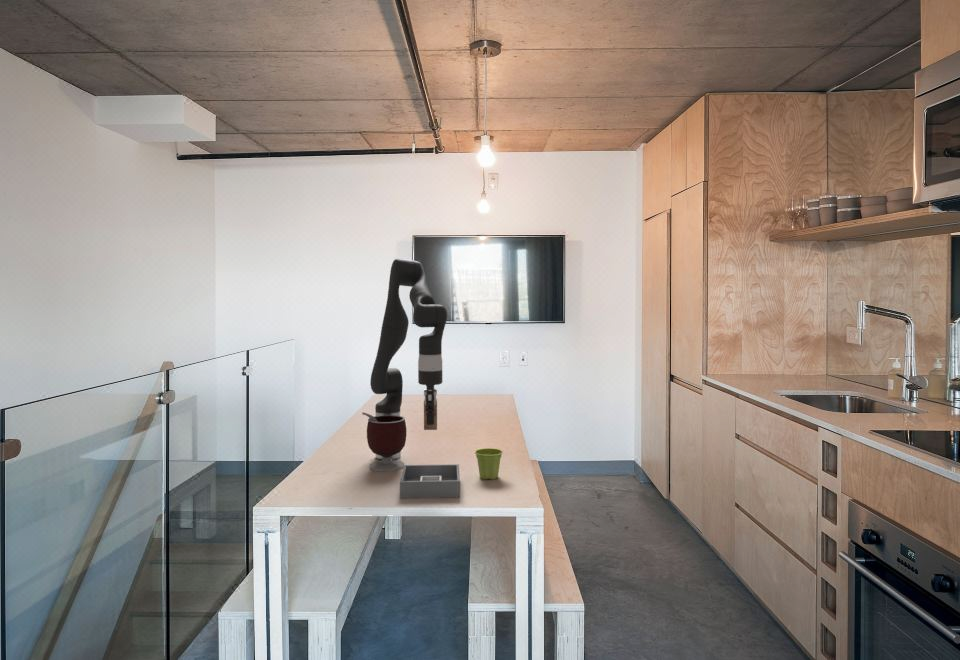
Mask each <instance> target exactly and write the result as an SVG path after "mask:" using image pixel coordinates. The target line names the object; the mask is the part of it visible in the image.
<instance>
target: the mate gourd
mask: <svg viewBox="0 0 960 660" xmlns="http://www.w3.org/2000/svg"><path fill="white" fill-rule="evenodd" d="M362 415H363V416H366V417H368V419H367V421H368V422H367V425H366V426H367V427H366V439H367V440H366V441H367V444H368V448H369V449H370V451H371V452H372V453H373V454H375V455H376V454H377V455H380V456H382V457H383V459H380V460H377V461H373V462H371V463H370V464H369V469H370V470H371V471H375V472H395V471H399V470H401V469H403V468H404V465H405V463H404V462H403V461H401V460H397V459H391V456H393V455H395V454H397V453H399V452H402V450H403V449H404V448H405V445H406V441H407V425H406V417H404V416H401V415H400V416H396V415H382V416H376V415H374V416H373V415H372V414H370V413H366V412H362Z"/></svg>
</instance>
